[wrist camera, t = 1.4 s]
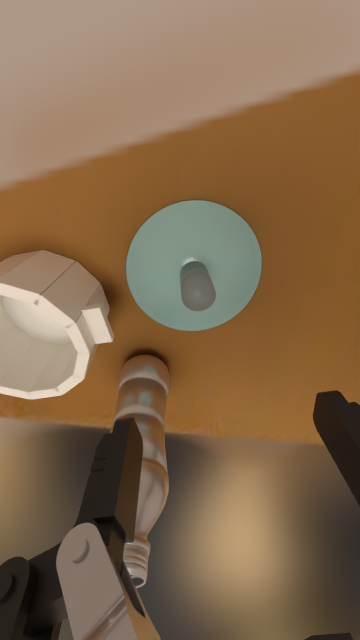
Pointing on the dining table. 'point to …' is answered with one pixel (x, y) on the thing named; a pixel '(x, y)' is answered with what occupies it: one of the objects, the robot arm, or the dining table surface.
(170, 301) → the lid
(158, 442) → the plastic bottle
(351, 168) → the dining table surface
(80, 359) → the pot
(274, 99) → the dining table surface
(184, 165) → the dining table surface
